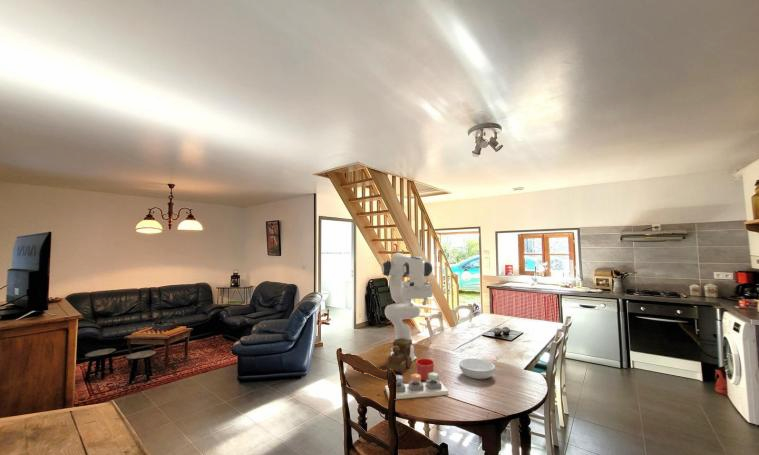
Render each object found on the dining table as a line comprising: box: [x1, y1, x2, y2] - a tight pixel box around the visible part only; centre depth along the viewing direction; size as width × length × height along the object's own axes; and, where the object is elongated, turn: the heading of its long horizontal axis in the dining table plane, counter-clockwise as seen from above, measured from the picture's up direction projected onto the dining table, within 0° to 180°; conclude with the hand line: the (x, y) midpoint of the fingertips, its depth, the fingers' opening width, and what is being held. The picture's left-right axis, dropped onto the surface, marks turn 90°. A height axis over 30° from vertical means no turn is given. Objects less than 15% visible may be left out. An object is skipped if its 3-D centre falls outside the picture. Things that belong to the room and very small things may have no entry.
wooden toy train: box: [386, 339, 413, 375], centre depth 199 cm, size 20×11×17 cm, turn 152°
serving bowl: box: [458, 358, 496, 380], centre depth 186 cm, size 21×21×7 cm
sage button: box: [428, 371, 439, 383], centre depth 168 cm, size 6×6×4 cm
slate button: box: [395, 374, 404, 386], centre depth 165 cm, size 6×6×4 cm
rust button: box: [410, 373, 422, 385], centre depth 166 cm, size 6×6×4 cm
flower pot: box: [415, 358, 435, 382], centre depth 183 cm, size 11×11×10 cm
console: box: [384, 379, 449, 400], centre depth 166 cm, size 12×32×4 cm, turn 98°
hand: (417, 305), depth 184 cm, fingers open, 8 cm apart
